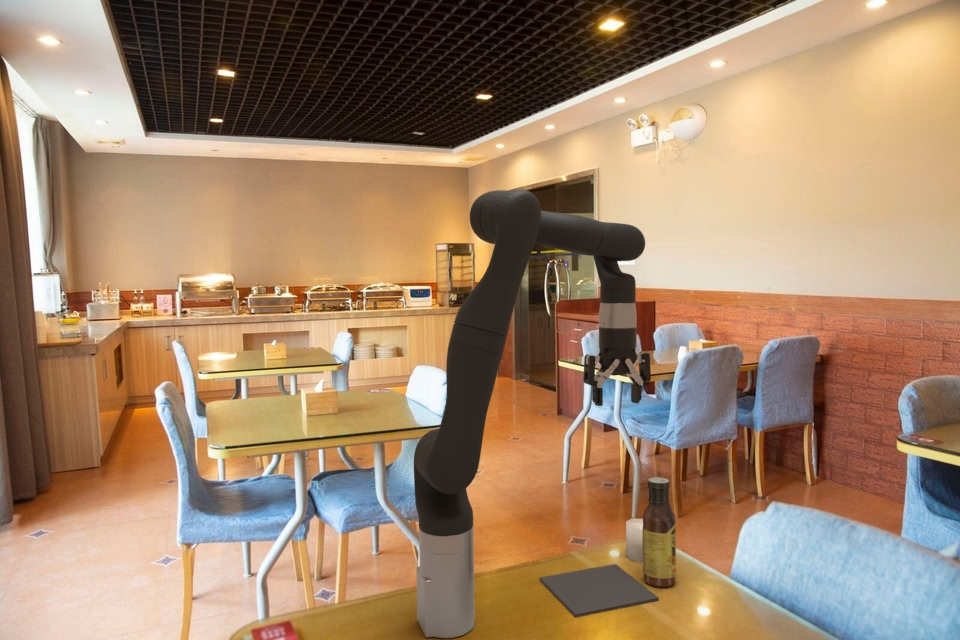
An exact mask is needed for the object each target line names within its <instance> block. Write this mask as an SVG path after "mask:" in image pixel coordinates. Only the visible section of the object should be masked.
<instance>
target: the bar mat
mask: <svg viewBox="0 0 960 640" xmlns="http://www.w3.org/2000/svg"><path fill="white" fill-rule="evenodd" d="M539 581H540V582H541V583H542V584H543V586H545V587H546V588H547V589H548V590H549V591H550V593H552V595H553V596H554V597H555V598H557V600H558V601H559V602H560V603H561V604H562V605H563V606H564V608H565V609H567V610H568V612H570V614H571V615H572V616H574V618H578V617H579V618H580V617H583V616H584V617H585V616H588V615H593V614H594V615H595V614H599V613H603V612H608V611H615V610H618V609H624V608H627V607H632V606H633V607H634V606H638V605H642V604H643V605H644V604H647V603H648V604H649V603H653V602H657V601H659V600H660V599H659V596H657V595H656V594H655V593H653V592H652V591H651V590H649V589H648V588H647V587H646V586H644V585H643V584H642V583H641V582H640V581H638V580H637V579H636V578H634V577H633V576H632V575H630V574H629V573H628V572H627V571H625V570H624V569H623V568H621V567H620V566H619V565H618V564H617V563H613V564H608V565H603V566H597V567H592V568H585V569H581V570H580V569H578V570H575V571H574V570H573V571H569V572H562V573H558V574H557V573H556V574H552V575H551V574H550V575H545V576H540V577H539Z"/></svg>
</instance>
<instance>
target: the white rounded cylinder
mask: <svg viewBox="0 0 960 640" xmlns="http://www.w3.org/2000/svg"><path fill="white" fill-rule="evenodd" d="M642 528H643V518H631V519H628V520H626V522H625V556H626V558H627V559H628V560H630V561H634V562H637V563H643V532H642Z"/></svg>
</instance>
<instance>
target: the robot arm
mask: <svg viewBox="0 0 960 640" xmlns="http://www.w3.org/2000/svg"><path fill="white" fill-rule="evenodd" d="M469 223H470V228H471V230H472V231H473V233H474V234H475V235H476V237H477V238H479V239H480V240H481V241H484V242H485V243H488V244H491V245H494V246H493V250H492V253H491V256H490V257H491V258H490V261H489V263H488V266H487V268H486V270H485V272H484V274H483V275H482V276H481V278H480V280H479V281H478V283H477V284H476V285H475V286H474V287H473V289H472V290H471V292H470V293H469V294H468V295H467V297H466V299H465V300H464V301H463V302H462V304H461V306H460V307H459V309H458V310H457V312H456V316H455V319H454V321H453V322H454V323H453V326H452V329H451V333H450V338H449V341H448V346H447V352H446V364H445V365H446V367H445V368H446V369H445V374H446V376H445V378H446V395H445V396H446V397H445V404H444V409H443V410H444V411H443V415H442V419H441V422H440V426H439V428H435V429H432V430H429V431H427V432H426V433H425V434H424V435H422V437H420V438H419V441H418V442H417V444H416V447H415V450H414V454H413V483H414V484H413V485H414V500H415V502H414V503H415V509H416V513H417V517H418V538H419V539H418V541H419V542H418V545H419V549H418V550H419V551H418V552H419V566H417V567H416V611H417V616H416V618H417V622H418V624H419V627H420V628H421V631H422V632H423V634H424V637H425V638H432V637H435V638H440V639H449V638H450V639H452V638H458V637H460V636H464V635H466V634H468V633H469V632H471V630H472V629H473V628H474V626H475V615H476V614H475V613H476V612H475V611H476V610H475V563H474V562H475V561H474V560H475V558H474V557H475V554H474V553H475V551H474V511H473V508H472V505H471V502H470V500H469V495H468V491H467V488H468V487H469V486H470V485H471V484H472V482H473V480H475V478H476V475H477V473H478V469H479V465H480V461H481V455H482V447H483V439H484V432H485V427H486V419H487V415H488V409H489V407H490V403H491V400H492V399H491V398H492V395H493V392H494V388H495V383H496V379H497V376H498V371H499V369H500V365H501V361H502V359H503V354H504V350H505V347H506V342H507V339H508V335H509V329H510V324H511V321H512V317H513V314H514V313H513V312H514V309H515V305H516V302H517V297H518V295H519V291H520V289H521V288H520V287H521V284H522V281H523V278H524V274H525V272H526V268H527V266H528V263H529V260H530V258H531V255H532V253H533V250H534V247H535V245H539V246H543V247H548V248H552V249H557V250H560V251H564V252H568V253H571V254H572V253H573V254H579V255H583V256H589V257H591V256H592V257H593V260H594V265H595V267H596V272H597V275H598V276H597V277H598V279H599V284H600V290H599V294H600V295H599V298H600V299H599V311H598V348H599V353H598V355H592V354H585V355H584V362H583V377H582V379H583V381H582V382H583V383H584V384H586V385H589V386H591V388H592V391H591V392H592V395H591V397H592V398H591V399H592V402H593V403H594V405H595V406H597V407H603V404H604V400H603V399H604V388H603V385H604V384H605V382H606V381H607V380H608V379H609V378H610V377H611V376H620V375H622V376H627V377H628V378H629V380H630V382H632V384H630V402H631V403H633V404H640V401H642V392H643V391H642V390H643V387H642V386H643V384H645V383H647V382H648V383H649V382H651V380H652V375H651V371H652V370H651V354H650V353H648V352H645V351H638V352H636V348H637V342H638V341H637V339H638V338H637V329H638V328H637V326H638V325H637V323H638V322H637V320H638V318H637V317H638V316H637V315H638V314H637V313H638V312H637V308H636V307H637V306H636V305H637V304H636V297H637V296H636V292H637V291H636V284H637V283H636V279H635V276H633V274H630V273H627V272H623V271H622V270H621V269H620V266H619V262H630V261H634V260H636V259H638V258H640V256H641V255H642V254H643V252H644V251H645V248H646V238H645V235H644V234H643V232H642V231H641V230H640V229H639V228H638V227H636V226H635V225H632V224H627V223H618V222H609V221H607V222H605V221H600V220H598V219H595V218H590V217H586V216H581V215H578V214H572V213H564V212H554V211H547V210H542V209H541V204H540V202H539V200H538V198H537V197H536V195H535V194H534V193H533V192H531V191H529V190H525V189H524V190H523V189H511V190H510V189H509V190H507V189H506V190H505V189H504V190H500V189H499V190H498V189H497V190H490V191H487V192H485V193H482V194H481V195H479V196H478V197H477V198H476V199H475V200H474V202H473V203H472V205H471V207H470V211H469ZM636 362H638V369H636V367H635V364H636ZM598 363H599V365H600V366H599V367H598V369H597V371H596V366H598Z"/></svg>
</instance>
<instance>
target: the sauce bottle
mask: <svg viewBox="0 0 960 640" xmlns="http://www.w3.org/2000/svg"><path fill="white" fill-rule="evenodd" d="M647 488H648V504H647V505H646V508H645V509H644V510H643V513H642V519H643V528H642V532H643V562H642V572H643V579H644V582H645V583H647V584H648V585H650V586H652V587H657V588H658V587H659V588H668V587H670V586H672V585H674V584H675V582H676V575H677V538H676V536H677V533H676V531H677V530H676V529H677V528H676V526H677V525H676V523H677V522H676V518H675V515H674V513H673V509H672V507H671V504H670V498H669V497H670V496H669V495H670V492H669V489H670V480H669V479H668V478H665V477H658V476H657V477H650V478H648V479H647Z"/></svg>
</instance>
